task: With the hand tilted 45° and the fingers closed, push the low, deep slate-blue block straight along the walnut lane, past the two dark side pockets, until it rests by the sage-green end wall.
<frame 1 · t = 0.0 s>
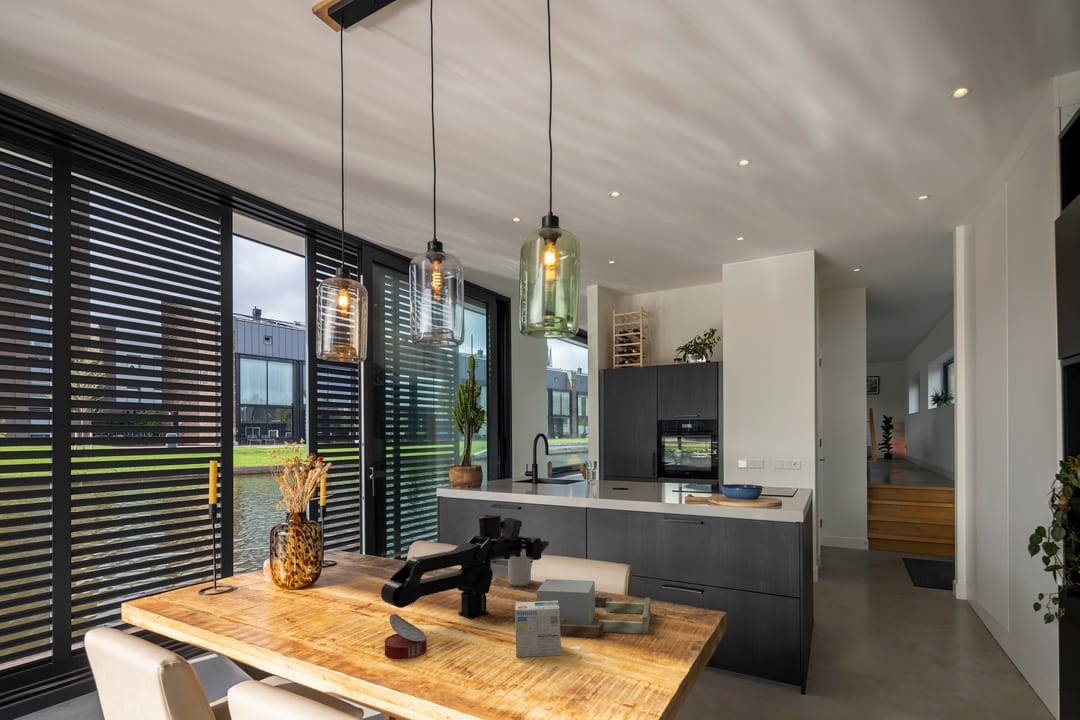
hand: (538, 541, 191), 17 cm above the table, tool horizontal, fingers open, 9 cm apart
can: (519, 584, 203), on the table
light bulb box: (538, 652, 143), on the table
canned food: (405, 652, 145), on the table
block: (567, 619, 167), on the table
lane: (591, 619, 165), on the table
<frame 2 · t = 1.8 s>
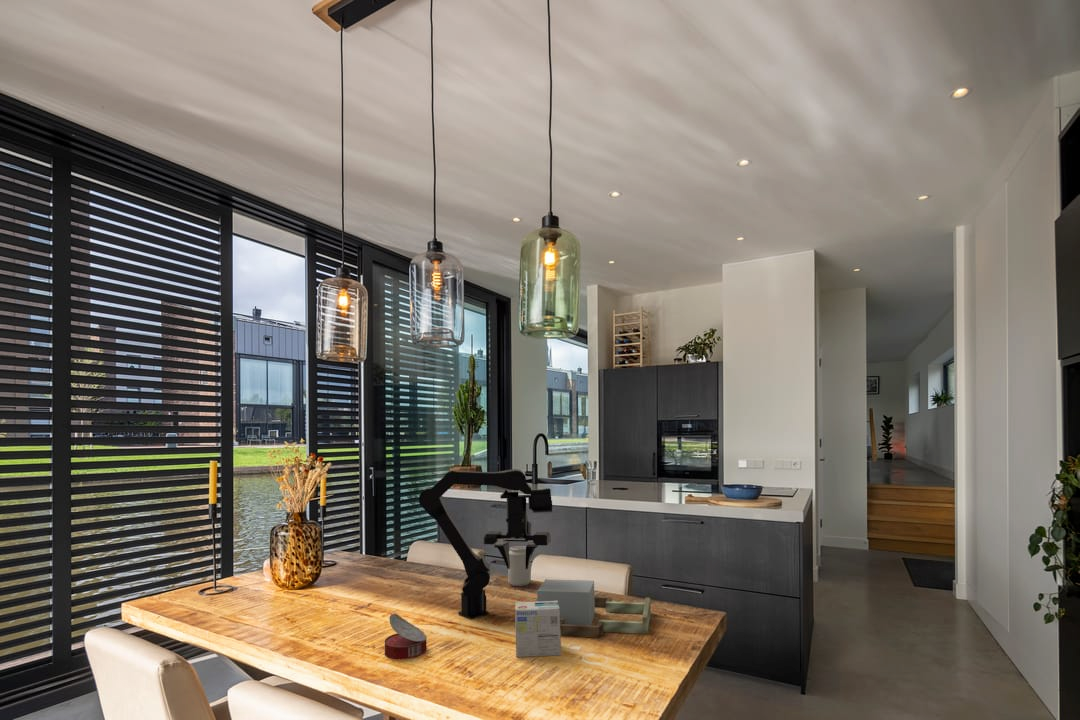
hand: (517, 568, 174), 12 cm above the table, tool pointing down, fingers open, 5 cm apart
nothing on the table moved.
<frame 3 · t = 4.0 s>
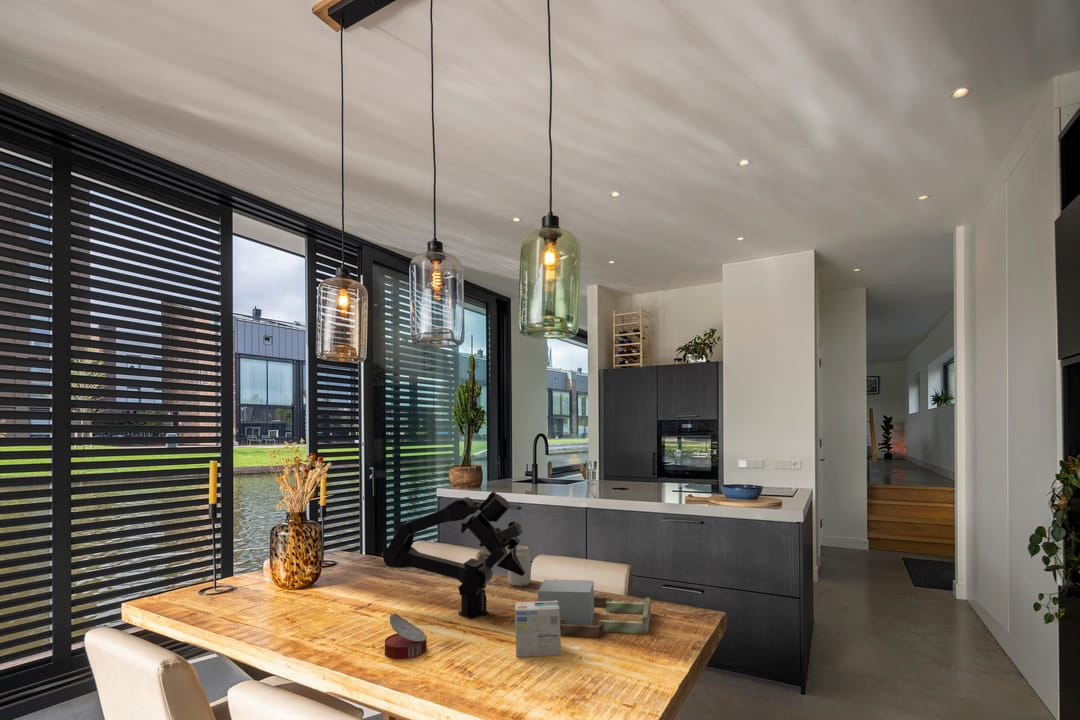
hand: (523, 574, 170), 11 cm above the table, tool tilted 45°, fingers closed
nothing on the table moved.
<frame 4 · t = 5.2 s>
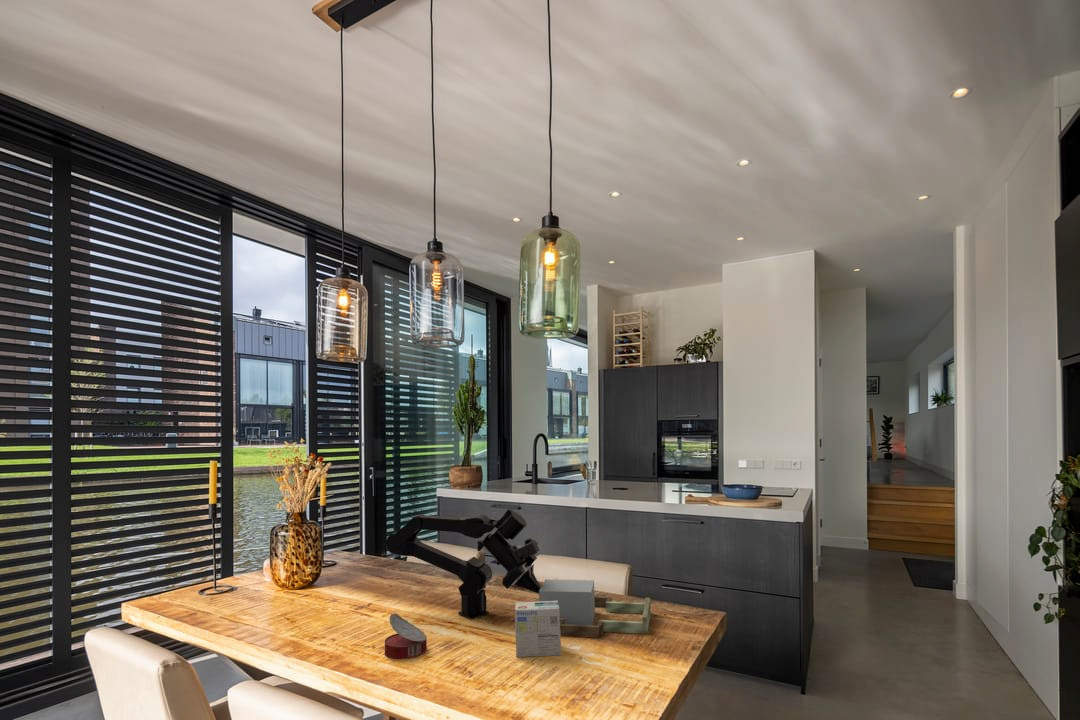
hand: (541, 592, 169), 7 cm above the table, tool tilted 45°, fingers closed
block: (568, 619, 167), on the table, touching gripper
everything else where it was.
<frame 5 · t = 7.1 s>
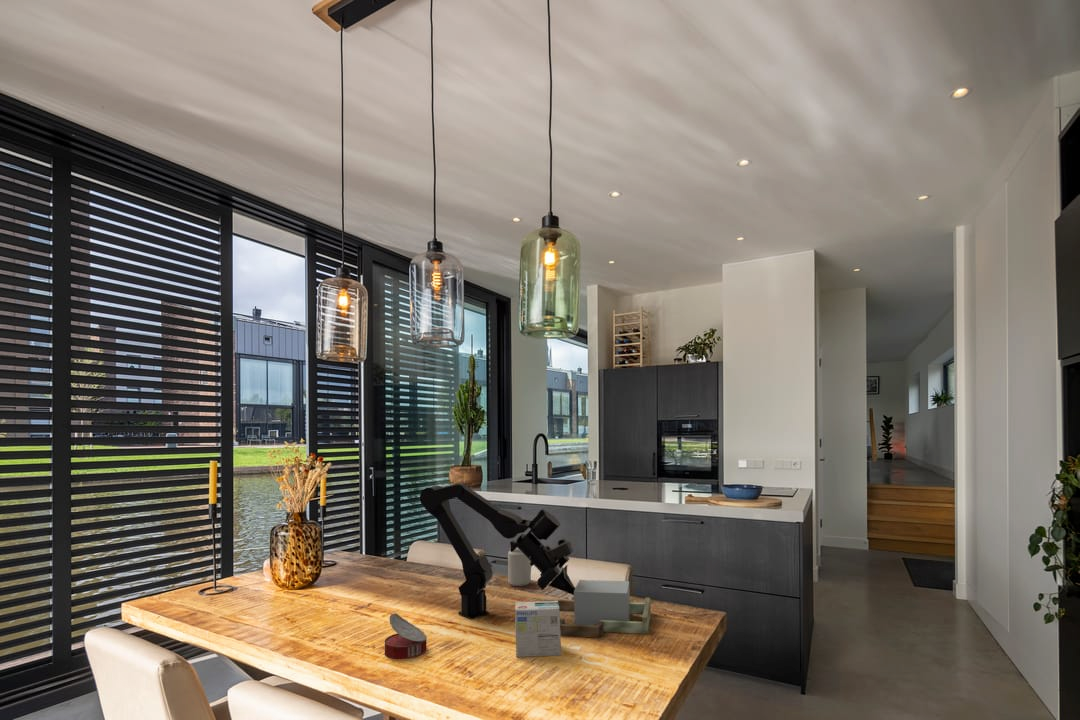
hand: (575, 593, 167), 7 cm above the table, tool tilted 45°, fingers closed, pressing on block
block: (603, 620, 165), on the table, touching gripper
everything else where it was.
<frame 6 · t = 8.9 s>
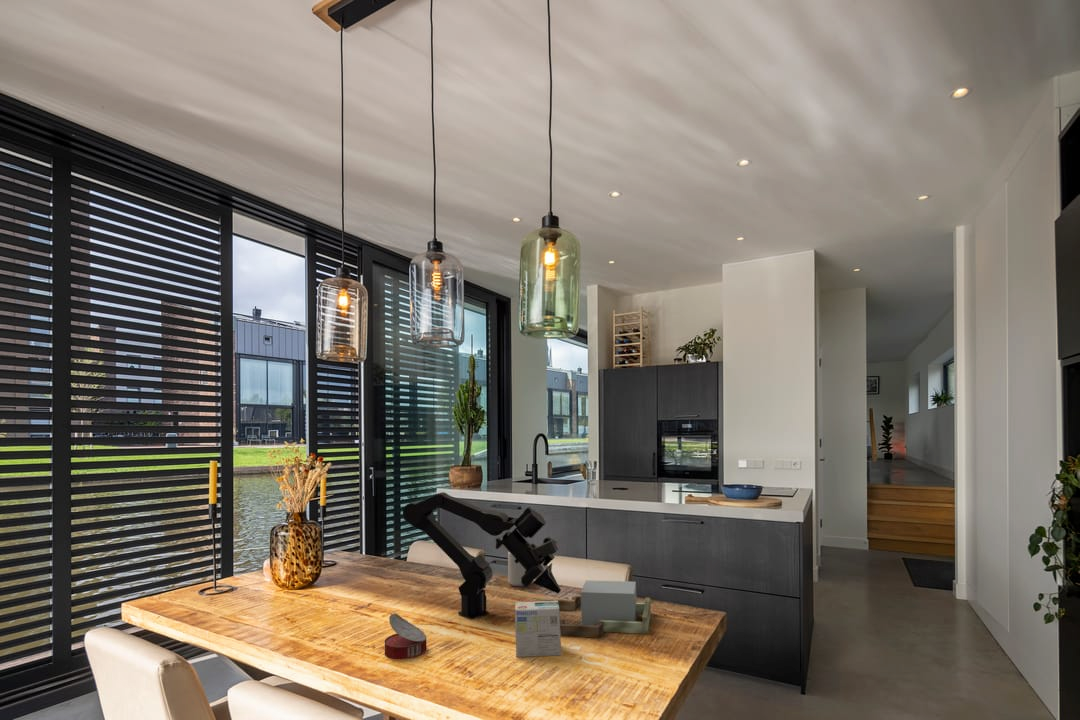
hand: (559, 592, 168), 7 cm above the table, tool tilted 45°, fingers closed
block: (610, 621, 164), on the table
everything else where it was.
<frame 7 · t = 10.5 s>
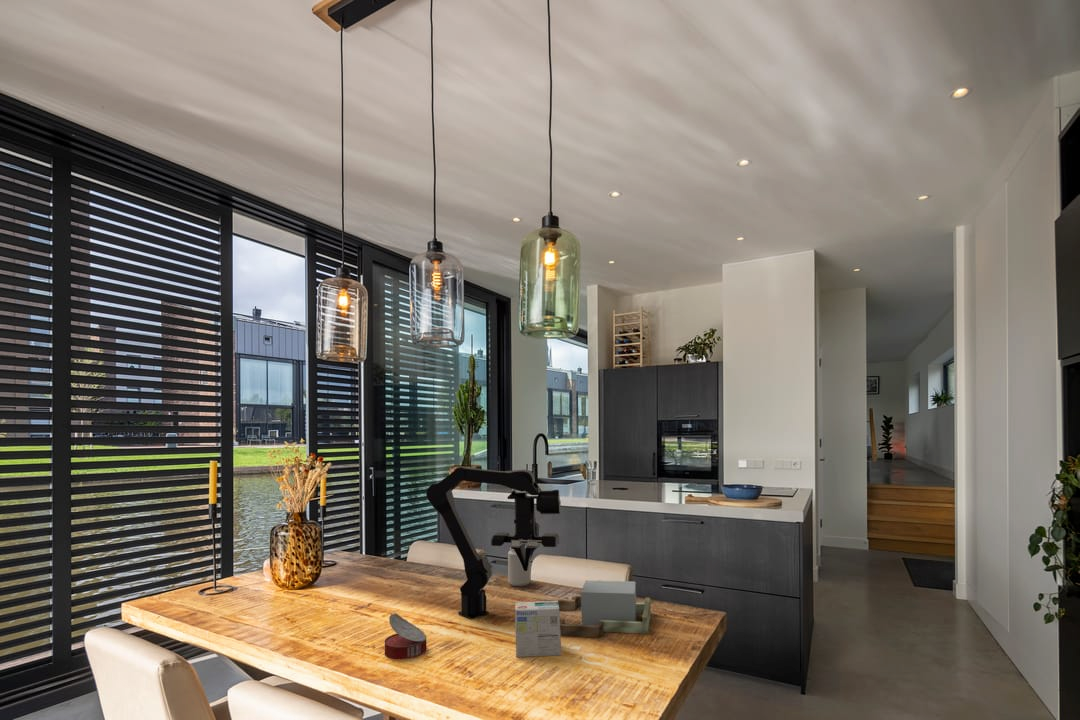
hand: (526, 570, 172), 12 cm above the table, tool pointing down, fingers closed
nothing on the table moved.
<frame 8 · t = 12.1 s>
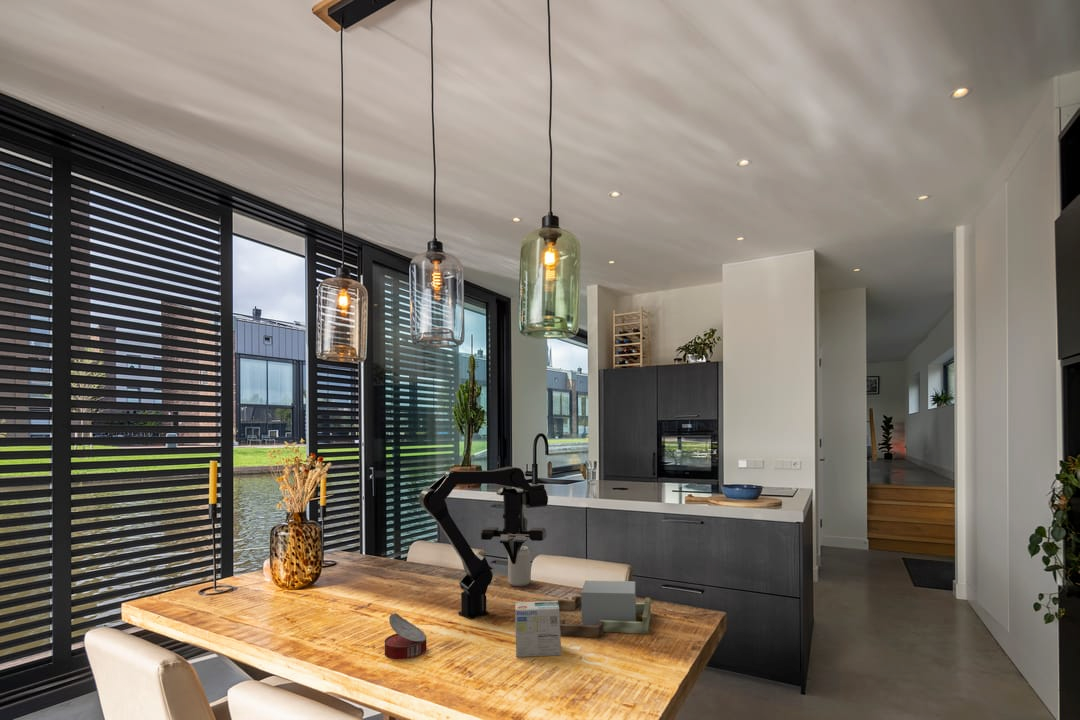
hand: (514, 563, 179), 13 cm above the table, tool pointing down, fingers closed
nothing on the table moved.
at the end: block inside the target area (2.2 cm from its centre), on the table; block tilted 0°; block moved 11.7 cm from its start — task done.
